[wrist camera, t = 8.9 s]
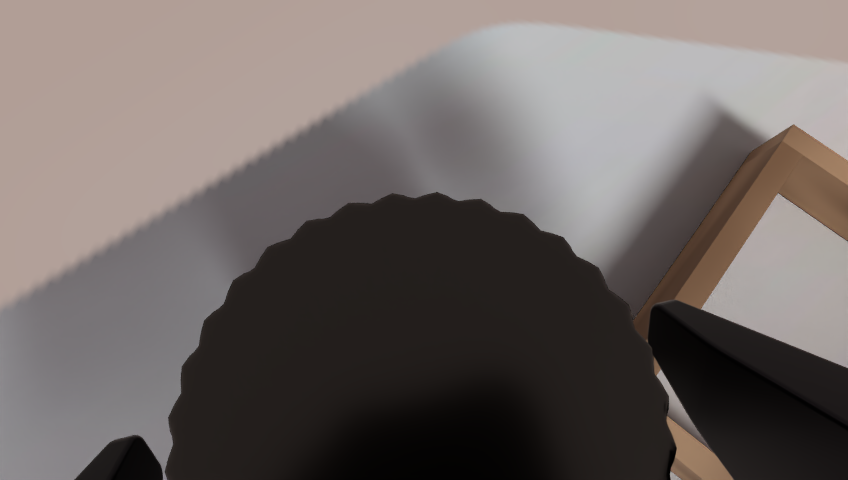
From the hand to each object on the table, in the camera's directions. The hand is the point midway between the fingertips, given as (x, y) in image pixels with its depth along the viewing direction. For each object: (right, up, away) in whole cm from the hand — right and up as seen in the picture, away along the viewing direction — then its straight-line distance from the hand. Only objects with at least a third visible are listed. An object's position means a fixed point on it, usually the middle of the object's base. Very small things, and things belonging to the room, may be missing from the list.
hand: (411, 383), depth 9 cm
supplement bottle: (0, -2, +8) cm, 8 cm away
